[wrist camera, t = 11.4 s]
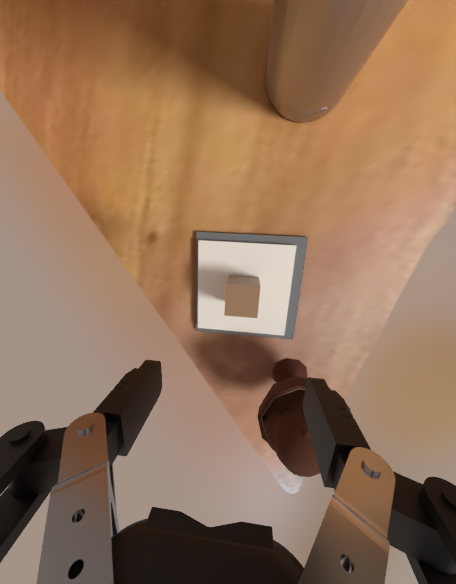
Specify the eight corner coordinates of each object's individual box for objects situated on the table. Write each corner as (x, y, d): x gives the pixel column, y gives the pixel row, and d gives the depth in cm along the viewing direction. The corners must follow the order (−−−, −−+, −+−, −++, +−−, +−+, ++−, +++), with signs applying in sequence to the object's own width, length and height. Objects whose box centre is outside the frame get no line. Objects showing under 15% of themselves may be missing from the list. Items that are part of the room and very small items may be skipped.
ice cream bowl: (263, 404, 37) (271, 516, 22) (251, 347, 34) (252, 433, 19) (327, 398, 35) (380, 515, 21) (320, 338, 32) (377, 424, 18)
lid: (199, 240, 29) (187, 242, 24) (295, 245, 28) (306, 248, 23) (198, 325, 33) (188, 344, 27) (283, 333, 32) (290, 354, 26)
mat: (197, 231, 30) (196, 231, 29) (306, 237, 28) (308, 237, 28) (196, 329, 34) (195, 330, 33) (292, 337, 33) (292, 339, 32)
